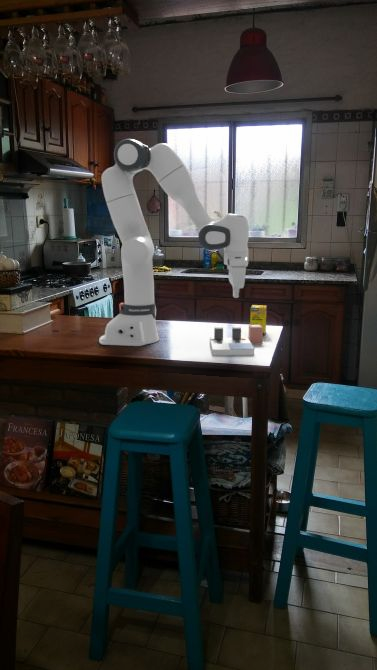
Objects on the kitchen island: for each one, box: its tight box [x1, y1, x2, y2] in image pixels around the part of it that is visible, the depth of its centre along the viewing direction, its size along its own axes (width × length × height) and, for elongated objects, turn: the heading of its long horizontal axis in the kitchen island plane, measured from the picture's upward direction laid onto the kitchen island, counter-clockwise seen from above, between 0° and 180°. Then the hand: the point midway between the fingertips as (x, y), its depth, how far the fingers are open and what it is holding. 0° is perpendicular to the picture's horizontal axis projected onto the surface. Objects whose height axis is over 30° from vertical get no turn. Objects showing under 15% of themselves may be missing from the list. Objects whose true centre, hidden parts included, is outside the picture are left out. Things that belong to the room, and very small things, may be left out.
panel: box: [209, 337, 255, 356], centre depth 190 cm, size 14×17×2 cm
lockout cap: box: [248, 324, 264, 344], centre depth 200 cm, size 4×4×6 cm
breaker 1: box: [213, 326, 224, 340], centre depth 195 cm, size 3×2×4 cm
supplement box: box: [249, 304, 267, 336], centre depth 213 cm, size 6×6×11 cm
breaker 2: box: [231, 326, 242, 340], centre depth 195 cm, size 3×2×4 cm
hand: (235, 297), depth 198 cm, fingers closed
